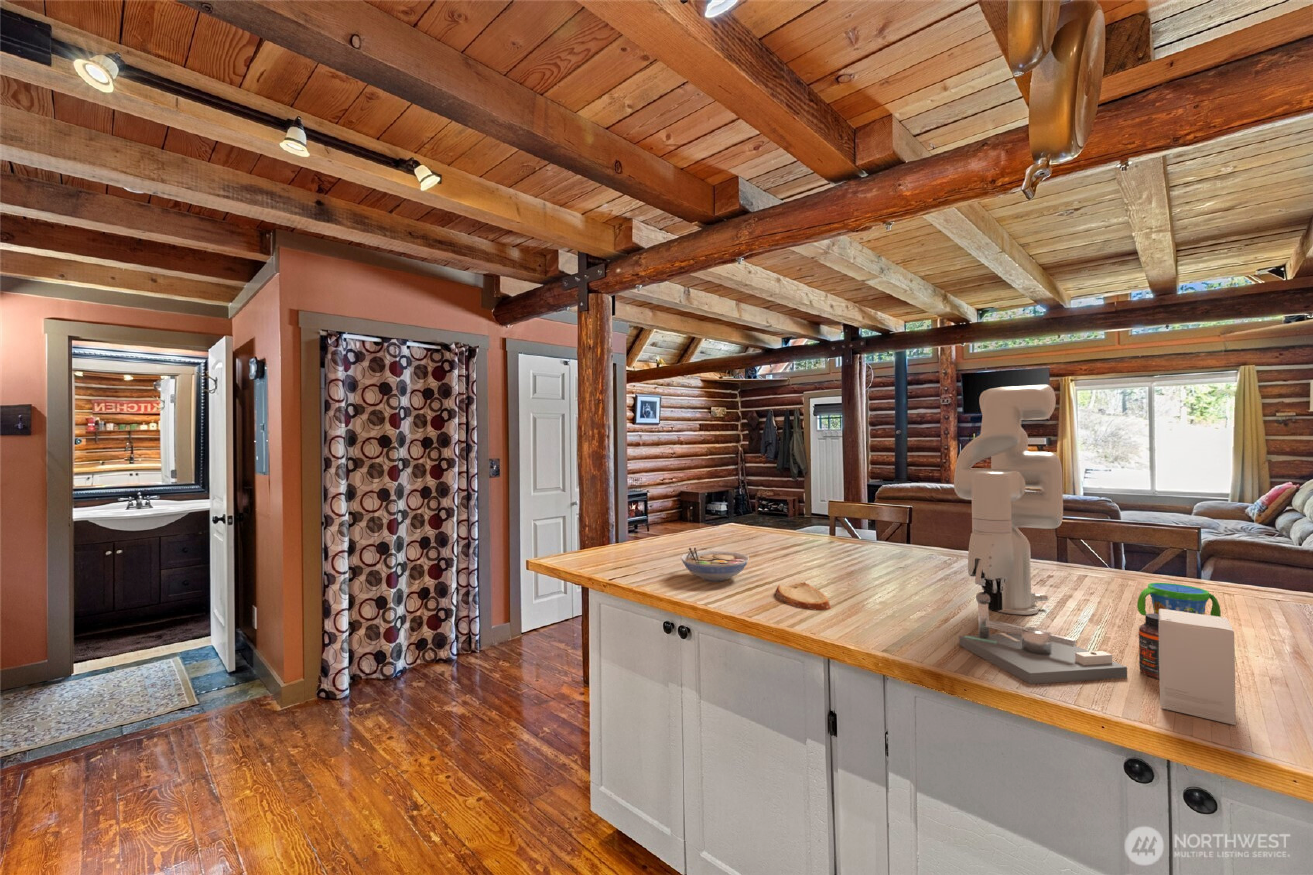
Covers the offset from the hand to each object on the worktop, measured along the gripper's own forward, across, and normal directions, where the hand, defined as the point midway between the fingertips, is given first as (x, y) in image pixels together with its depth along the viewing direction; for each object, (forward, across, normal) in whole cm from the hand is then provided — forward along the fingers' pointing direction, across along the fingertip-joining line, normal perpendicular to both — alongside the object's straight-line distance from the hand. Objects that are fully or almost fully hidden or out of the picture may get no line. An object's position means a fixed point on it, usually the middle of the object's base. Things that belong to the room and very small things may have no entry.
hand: (993, 608), depth 123 cm
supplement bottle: (+8, -11, +25) cm, 29 cm away
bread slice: (+8, +12, -47) cm, 50 cm away
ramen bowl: (+8, +22, -80) cm, 83 cm away
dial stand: (+8, +2, +10) cm, 13 cm away
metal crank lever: (+5, +2, +7) cm, 9 cm away
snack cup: (+8, -45, +16) cm, 48 cm away
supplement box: (+8, 0, +34) cm, 35 cm away
